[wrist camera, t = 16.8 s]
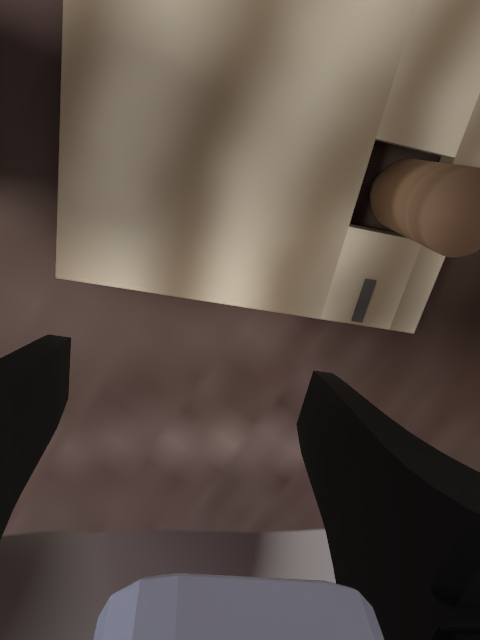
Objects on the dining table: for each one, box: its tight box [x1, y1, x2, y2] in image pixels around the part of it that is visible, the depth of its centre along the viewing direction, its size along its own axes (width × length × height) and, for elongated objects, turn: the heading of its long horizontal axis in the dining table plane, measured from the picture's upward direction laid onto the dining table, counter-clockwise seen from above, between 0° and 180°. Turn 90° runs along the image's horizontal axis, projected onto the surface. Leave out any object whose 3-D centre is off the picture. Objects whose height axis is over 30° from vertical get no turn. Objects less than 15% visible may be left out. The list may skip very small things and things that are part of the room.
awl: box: [369, 159, 480, 258], centre depth 18 cm, size 3×3×6 cm
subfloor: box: [56, 0, 480, 334], centre depth 17 cm, size 19×26×1 cm
